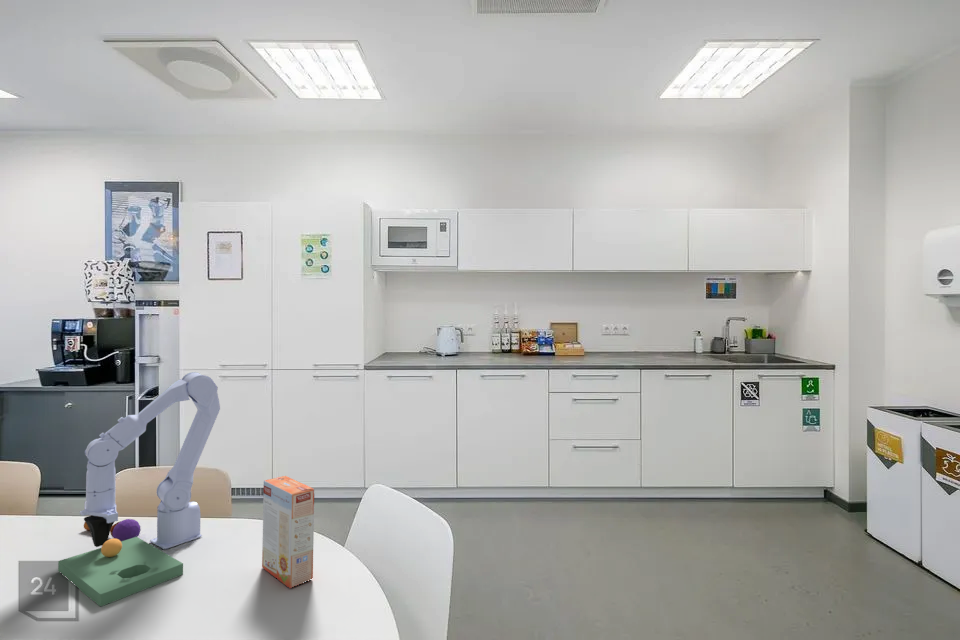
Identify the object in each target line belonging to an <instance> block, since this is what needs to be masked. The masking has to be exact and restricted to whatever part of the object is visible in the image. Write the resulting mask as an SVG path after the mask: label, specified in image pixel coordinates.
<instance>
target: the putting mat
mask: <svg viewBox="0 0 960 640" xmlns="http://www.w3.org/2000/svg"><path fill="white" fill-rule="evenodd" d="M121 543H122V549H121V551H120V552H119V553H118V554H117V555H115V556H113V557H106V556H104V555H103V554H102V552H101V547H98V548H96V549H93V550H90V551H86V552H84V553H80V554H77V555H74V556H71V557H68V558H67V557H66V558H63V559H61V560H58V561H57V562H58V563H57V564H58V566H57V569H58V570H57V571H59V572H61V573H62V574H63V575H64V576H66V577H67V578H68V579H69V580H70V581H72V582H73V583H74V584H75V585H76V586H77V587H78V588H79V589H80V590H79V591H81V592H82V593H83V594H84V595H85V596H86V597H88V598H89V597H90V598H91V599H90V598H89V599H90V600H91V601H93V602H94V601H95V602H96V603H97V604H96V603H95V602H94V603H95V604H96V605H97V606H98V607H100V606H101V607H104V606H105V605H108V603H109V604H111V603H114V602H115V601H116V602H117V601H118V600H121V599H124V598H126V597H129V596H131V595H134V594H137V593H139V592H142V591H145V590H146V589H150V588H151V587H154V586H157V585H160V584H162V583H164V582H167V581H169V580H172V579H174V578H177V577H180V576H183V575H184V563H183V562H181V561H179V560H178V559H176V558H174V557H173V556H171V555H169V554H167V553H166V552H164V551H162V550H161V549H159V548H157V547H156V546H154V545H151V544H150V543H149V542H147V541H145V540H144V539H142V538H140V537H139V536H138V537H134V538H131V539H128V540H124V541H121ZM59 572H58V573H59ZM63 575H62V576H63ZM64 576H63V577H64ZM69 580H68V581H69ZM70 581H69V582H70ZM75 585H74V586H75ZM76 586H75V587H76ZM77 587H76V588H77ZM78 588H77V589H78ZM103 605H104V606H103Z"/></svg>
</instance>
